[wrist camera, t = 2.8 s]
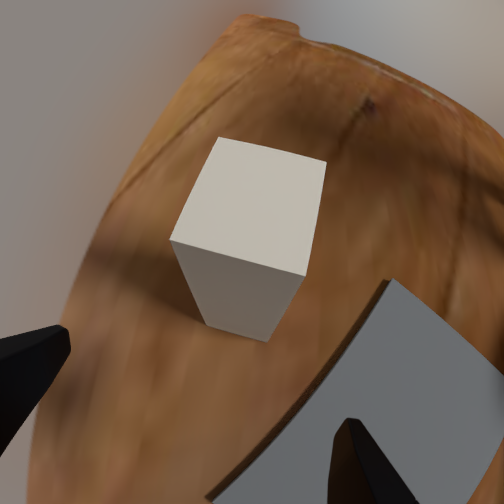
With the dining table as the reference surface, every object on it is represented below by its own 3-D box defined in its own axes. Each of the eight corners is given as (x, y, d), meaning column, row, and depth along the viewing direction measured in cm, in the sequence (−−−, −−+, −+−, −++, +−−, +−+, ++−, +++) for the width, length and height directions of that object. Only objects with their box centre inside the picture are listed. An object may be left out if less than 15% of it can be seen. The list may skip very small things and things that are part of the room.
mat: (393, 582, 11) (396, 584, 10) (212, 499, 16) (211, 502, 15) (517, 394, 18) (521, 393, 18) (389, 280, 24) (392, 278, 23)
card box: (266, 342, 21) (305, 276, 9) (206, 325, 21) (169, 239, 10) (283, 279, 23) (326, 162, 12) (226, 264, 24) (218, 137, 12)
